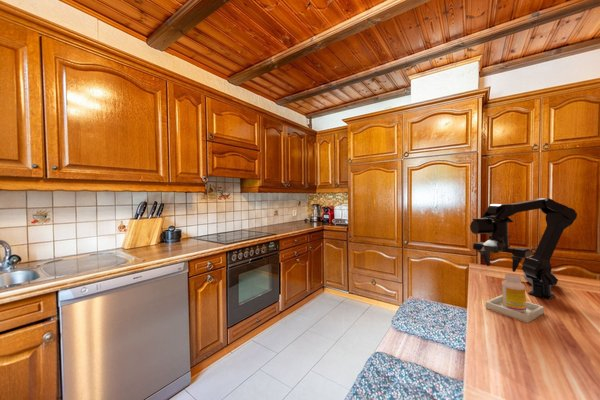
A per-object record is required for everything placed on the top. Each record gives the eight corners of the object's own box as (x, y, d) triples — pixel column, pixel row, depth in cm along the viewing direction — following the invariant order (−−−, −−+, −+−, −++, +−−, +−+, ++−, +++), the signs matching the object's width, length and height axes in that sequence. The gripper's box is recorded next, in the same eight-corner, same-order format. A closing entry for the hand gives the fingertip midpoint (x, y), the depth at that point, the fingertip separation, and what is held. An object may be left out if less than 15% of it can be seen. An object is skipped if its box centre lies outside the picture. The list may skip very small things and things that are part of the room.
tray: (502, 300, 97) (502, 294, 97) (544, 313, 86) (543, 306, 86) (485, 308, 92) (485, 301, 92) (527, 323, 80) (527, 316, 80)
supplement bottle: (531, 313, 85) (530, 279, 85) (510, 313, 86) (509, 278, 86) (517, 305, 91) (516, 273, 91) (498, 304, 93) (497, 272, 92)
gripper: (465, 232, 105) (466, 266, 106) (517, 238, 88) (518, 279, 89) (479, 229, 110) (480, 262, 110) (531, 234, 93) (532, 273, 93)
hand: (500, 268), depth 101 cm, fingers open, 9 cm apart
